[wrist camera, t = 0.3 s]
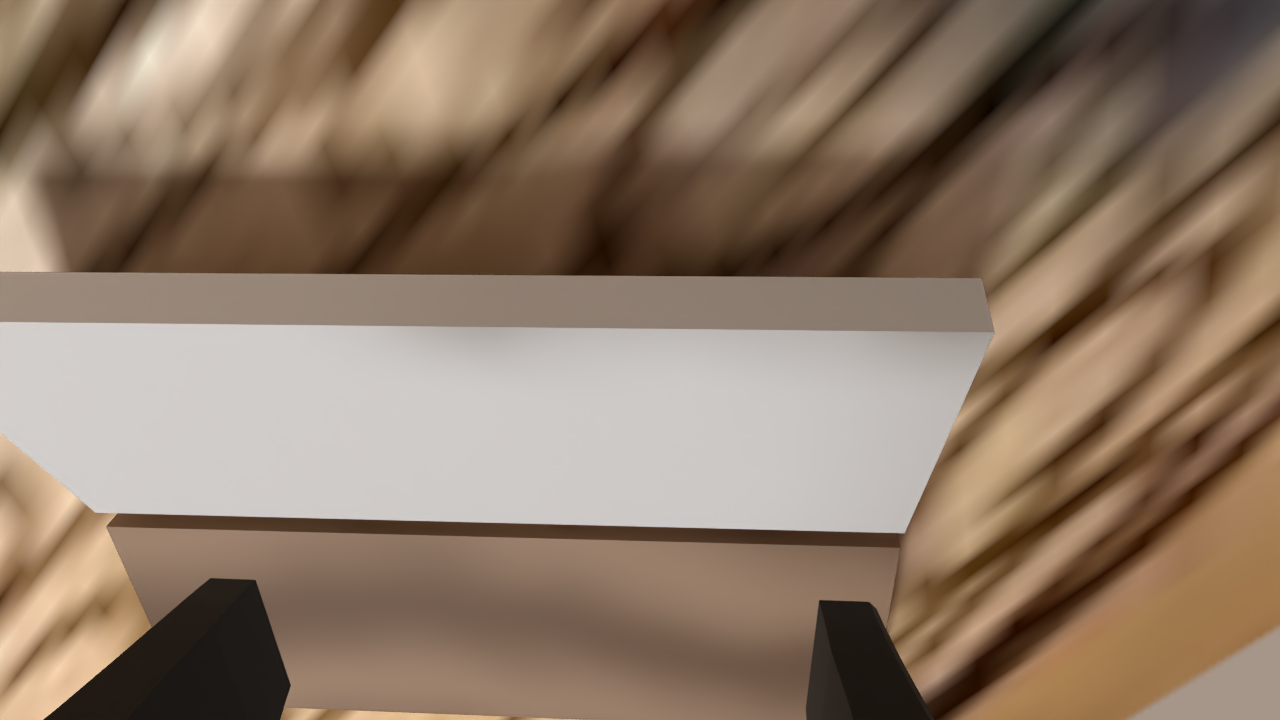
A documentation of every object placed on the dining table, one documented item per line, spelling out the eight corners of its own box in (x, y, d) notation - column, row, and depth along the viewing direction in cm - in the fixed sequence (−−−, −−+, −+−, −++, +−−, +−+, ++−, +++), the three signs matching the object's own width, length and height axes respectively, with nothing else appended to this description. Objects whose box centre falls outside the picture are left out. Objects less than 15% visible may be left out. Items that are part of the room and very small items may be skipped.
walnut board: (861, 695, 26) (868, 731, 25) (205, 670, 27) (186, 703, 26) (891, 514, 22) (900, 547, 21) (132, 496, 24) (106, 527, 23)
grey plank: (898, 487, 22) (904, 533, 21) (115, 470, 23) (96, 512, 22) (981, 278, 15) (994, 332, 15) (-99, 270, 17) (-135, 320, 16)
